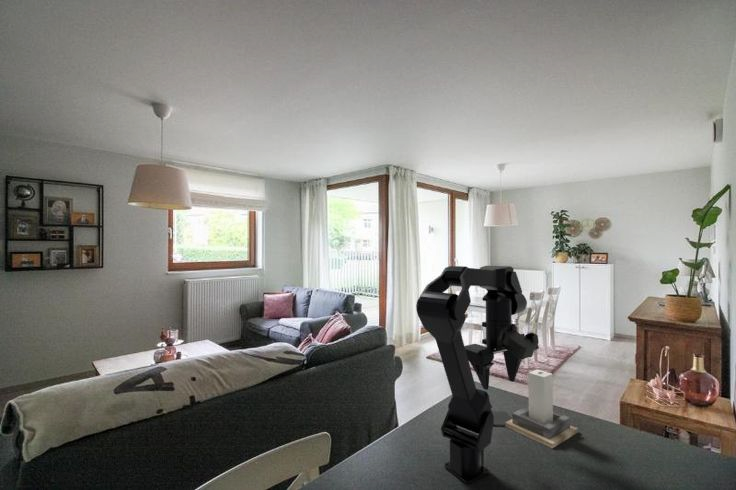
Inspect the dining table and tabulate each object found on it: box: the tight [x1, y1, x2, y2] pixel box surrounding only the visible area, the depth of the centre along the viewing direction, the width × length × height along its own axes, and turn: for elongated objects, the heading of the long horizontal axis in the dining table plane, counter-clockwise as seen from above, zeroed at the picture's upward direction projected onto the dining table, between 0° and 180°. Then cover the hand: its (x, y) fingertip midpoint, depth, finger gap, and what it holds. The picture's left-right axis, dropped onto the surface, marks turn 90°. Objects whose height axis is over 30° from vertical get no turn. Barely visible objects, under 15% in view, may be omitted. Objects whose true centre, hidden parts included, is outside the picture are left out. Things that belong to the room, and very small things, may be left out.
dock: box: [504, 405, 579, 449], centre depth 88 cm, size 12×12×4 cm
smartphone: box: [492, 410, 512, 428], centre depth 93 cm, size 7×1×15 cm
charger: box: [527, 368, 554, 424], centre depth 88 cm, size 4×4×13 cm
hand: (499, 385), depth 83 cm, fingers open, 9 cm apart
